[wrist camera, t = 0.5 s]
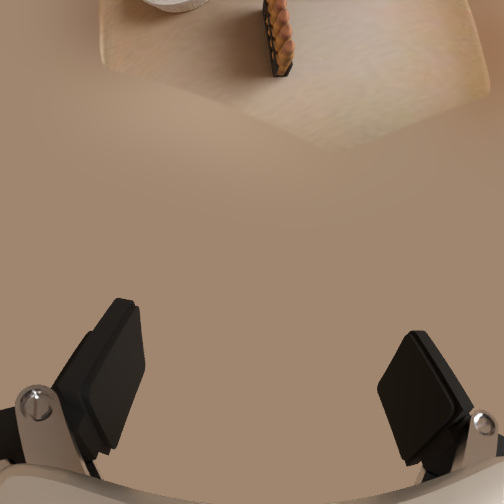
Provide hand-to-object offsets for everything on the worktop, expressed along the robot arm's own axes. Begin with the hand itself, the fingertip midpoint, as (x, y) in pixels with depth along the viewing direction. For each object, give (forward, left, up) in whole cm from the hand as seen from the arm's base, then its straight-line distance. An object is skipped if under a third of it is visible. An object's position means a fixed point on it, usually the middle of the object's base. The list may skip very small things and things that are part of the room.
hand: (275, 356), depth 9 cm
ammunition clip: (-14, -15, -30) cm, 37 cm away
